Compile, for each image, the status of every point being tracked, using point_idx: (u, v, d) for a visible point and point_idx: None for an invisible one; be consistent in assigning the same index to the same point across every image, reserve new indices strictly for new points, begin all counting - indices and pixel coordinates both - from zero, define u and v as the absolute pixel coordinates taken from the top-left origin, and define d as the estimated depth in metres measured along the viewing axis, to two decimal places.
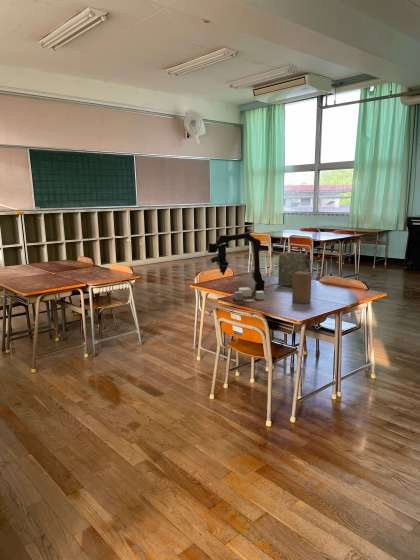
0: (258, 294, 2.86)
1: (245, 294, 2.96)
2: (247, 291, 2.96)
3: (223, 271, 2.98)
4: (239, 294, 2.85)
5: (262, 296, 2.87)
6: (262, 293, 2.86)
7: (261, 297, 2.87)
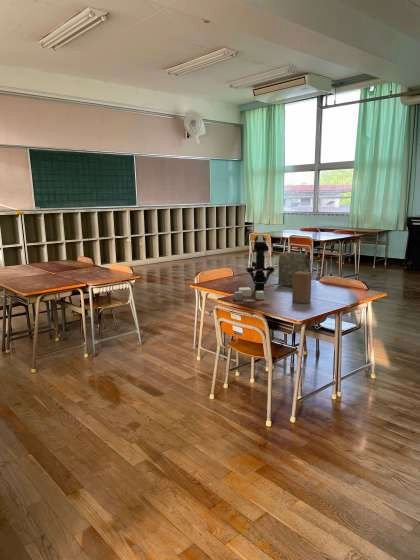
0: (258, 294, 2.86)
1: (245, 294, 2.96)
2: (247, 291, 2.95)
3: (252, 278, 2.86)
4: (239, 294, 2.85)
5: (262, 296, 2.87)
6: (262, 293, 2.86)
7: (261, 297, 2.87)
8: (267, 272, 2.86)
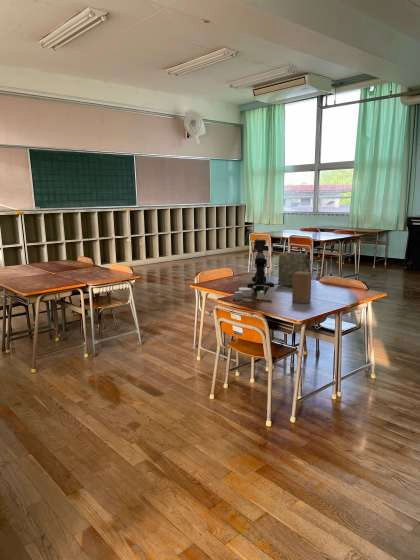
0: (258, 294, 2.86)
1: (245, 294, 2.96)
2: (247, 291, 2.95)
3: None
4: (239, 294, 2.85)
5: (262, 296, 2.87)
6: (262, 293, 2.86)
7: (261, 297, 2.87)
8: (264, 288, 2.88)
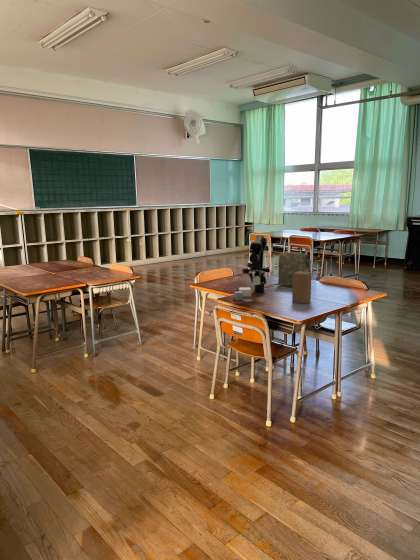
0: (254, 279, 2.87)
1: (244, 294, 2.96)
2: (246, 291, 2.95)
3: None
4: (239, 294, 2.85)
5: (258, 281, 2.88)
6: (258, 278, 2.88)
7: (257, 282, 2.88)
8: (260, 273, 2.89)
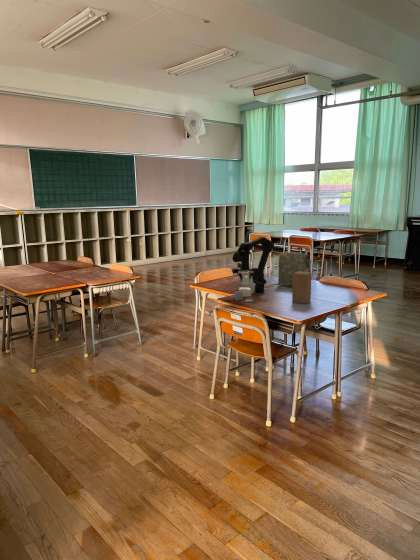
0: (243, 279, 2.95)
1: (244, 294, 2.96)
2: (246, 291, 2.95)
3: (240, 278, 2.97)
4: (239, 294, 2.85)
5: (247, 281, 2.96)
6: (247, 278, 2.95)
7: (246, 282, 2.96)
8: (249, 273, 2.97)
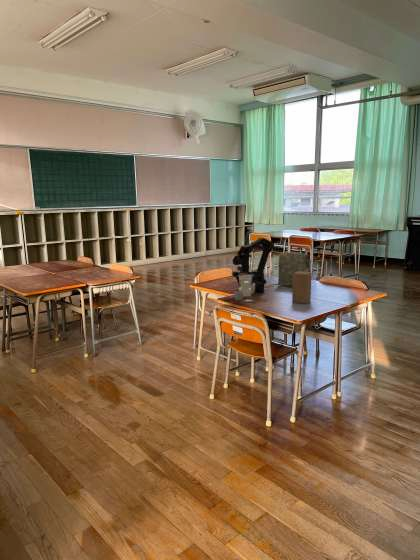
0: (243, 284, 2.96)
1: (244, 294, 2.96)
2: (246, 291, 2.95)
3: (237, 281, 2.97)
4: (239, 294, 2.85)
5: (247, 286, 2.96)
6: (247, 283, 2.96)
7: (246, 287, 2.96)
8: (252, 276, 2.97)
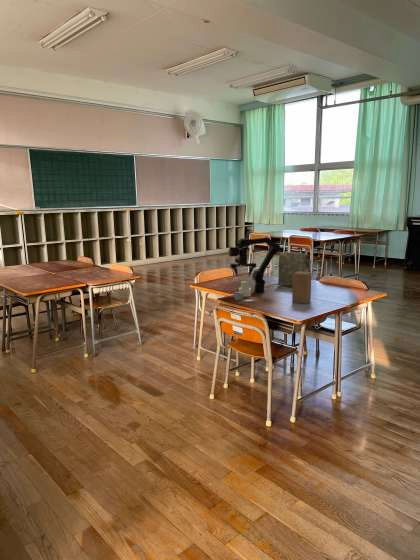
0: (243, 284, 2.95)
1: (244, 294, 2.96)
2: (246, 291, 2.95)
3: (235, 273, 3.03)
4: (239, 294, 2.85)
5: (247, 286, 2.96)
6: (247, 283, 2.96)
7: (246, 287, 2.96)
8: (250, 268, 3.04)
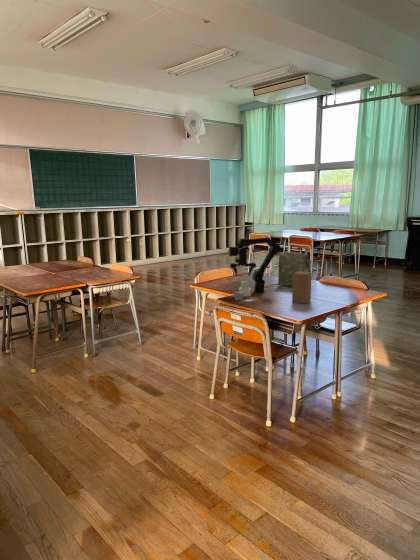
0: (243, 284, 2.95)
1: (244, 294, 2.96)
2: (246, 291, 2.95)
3: (235, 273, 3.04)
4: (239, 294, 2.85)
5: (247, 286, 2.96)
6: (247, 283, 2.96)
7: (246, 287, 2.96)
8: (249, 268, 3.04)
